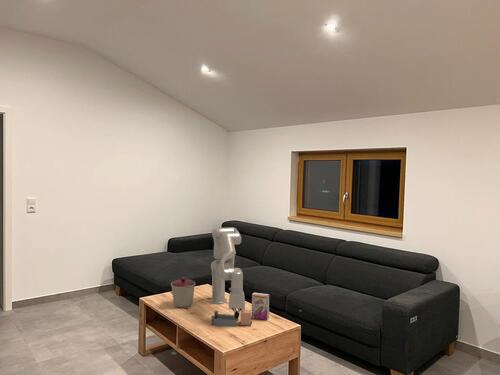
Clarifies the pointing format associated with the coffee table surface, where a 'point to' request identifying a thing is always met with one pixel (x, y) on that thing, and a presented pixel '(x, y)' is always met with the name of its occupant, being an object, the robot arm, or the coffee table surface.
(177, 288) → the canister
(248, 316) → the block
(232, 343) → the coffee table surface
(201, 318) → the coffee table surface
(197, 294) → the coffee table surface
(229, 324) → the grey u-shaped bracket
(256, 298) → the candy bar box
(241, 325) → the mat
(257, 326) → the coffee table surface
